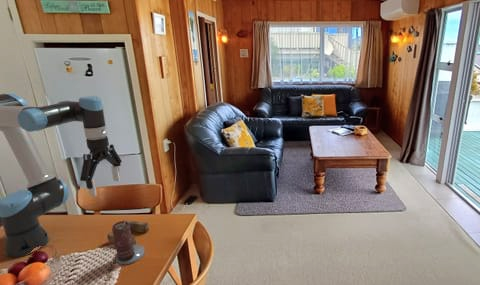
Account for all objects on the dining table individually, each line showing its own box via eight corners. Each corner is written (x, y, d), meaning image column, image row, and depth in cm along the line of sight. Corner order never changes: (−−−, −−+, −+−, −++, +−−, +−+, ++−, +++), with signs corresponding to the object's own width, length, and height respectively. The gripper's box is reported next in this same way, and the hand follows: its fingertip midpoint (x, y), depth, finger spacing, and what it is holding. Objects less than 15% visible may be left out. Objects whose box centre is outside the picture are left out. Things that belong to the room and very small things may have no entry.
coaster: (109, 262, 111) (108, 260, 111) (126, 245, 121) (126, 243, 121) (134, 266, 108) (133, 264, 108) (150, 248, 118) (149, 246, 118)
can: (138, 251, 115) (132, 220, 111) (129, 262, 109) (122, 230, 105) (124, 250, 116) (118, 219, 112) (114, 261, 111) (108, 228, 107)
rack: (108, 243, 123) (107, 235, 122) (125, 227, 134) (124, 220, 133) (133, 246, 120) (132, 238, 119) (148, 230, 131) (147, 222, 130)
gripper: (79, 147, 99) (90, 203, 105) (125, 129, 122) (132, 176, 128) (61, 146, 101) (73, 201, 107) (110, 128, 124) (118, 174, 130)
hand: (105, 187), depth 118 cm, fingers open, 13 cm apart
